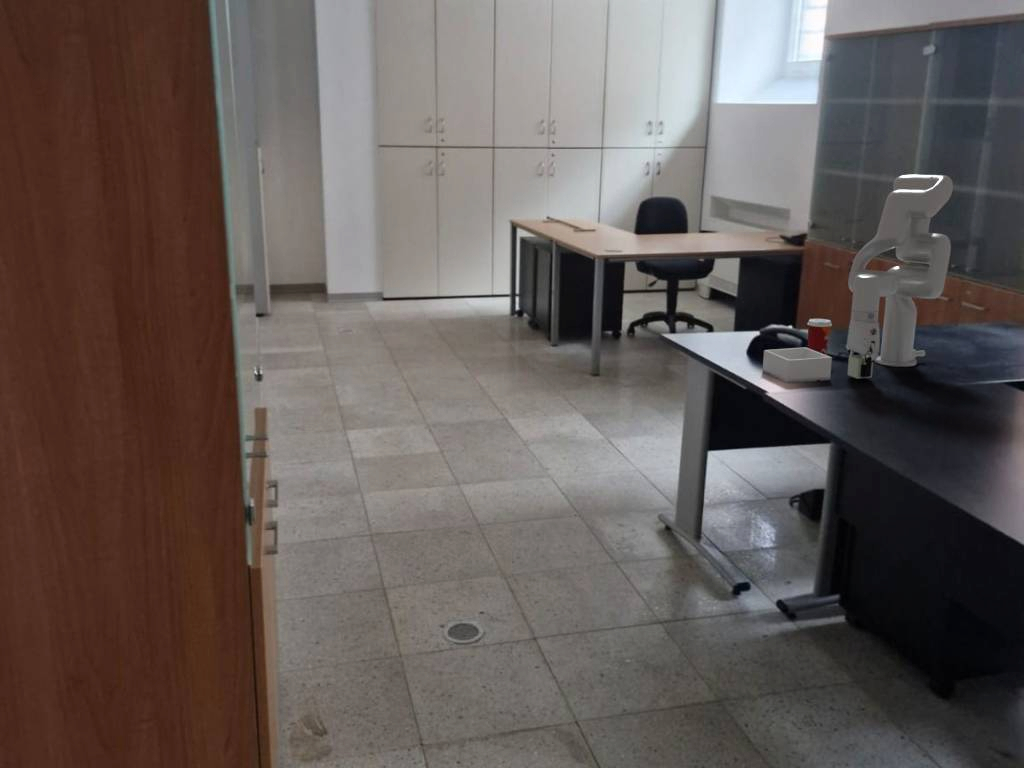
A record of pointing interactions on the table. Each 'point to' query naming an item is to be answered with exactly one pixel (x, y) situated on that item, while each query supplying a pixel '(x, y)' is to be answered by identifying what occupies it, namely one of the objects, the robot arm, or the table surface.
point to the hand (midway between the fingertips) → (859, 373)
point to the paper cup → (819, 335)
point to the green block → (856, 366)
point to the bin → (797, 365)
